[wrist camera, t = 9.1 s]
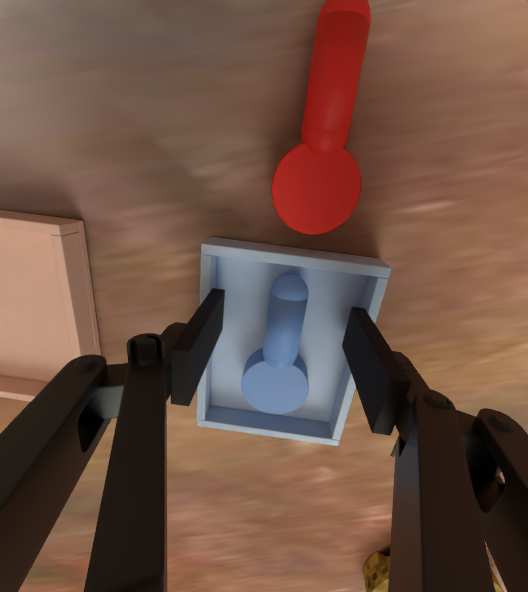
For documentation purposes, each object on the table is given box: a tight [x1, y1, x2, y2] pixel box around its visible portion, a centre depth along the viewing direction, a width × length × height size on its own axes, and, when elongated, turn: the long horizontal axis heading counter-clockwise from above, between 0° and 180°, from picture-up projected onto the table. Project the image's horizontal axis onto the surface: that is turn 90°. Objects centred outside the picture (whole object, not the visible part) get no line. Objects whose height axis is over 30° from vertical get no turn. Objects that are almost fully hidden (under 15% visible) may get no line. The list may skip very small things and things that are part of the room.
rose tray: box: [0, 210, 101, 401], centre depth 18 cm, size 13×10×2 cm
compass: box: [363, 552, 503, 592], centre depth 27 cm, size 12×12×2 cm
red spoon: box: [272, 0, 371, 234], centre depth 13 cm, size 10×4×2 cm, turn 174°
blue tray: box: [196, 237, 392, 446], centre depth 18 cm, size 13×10×2 cm
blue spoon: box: [241, 274, 309, 414], centre depth 17 cm, size 10×4×2 cm, turn 174°
